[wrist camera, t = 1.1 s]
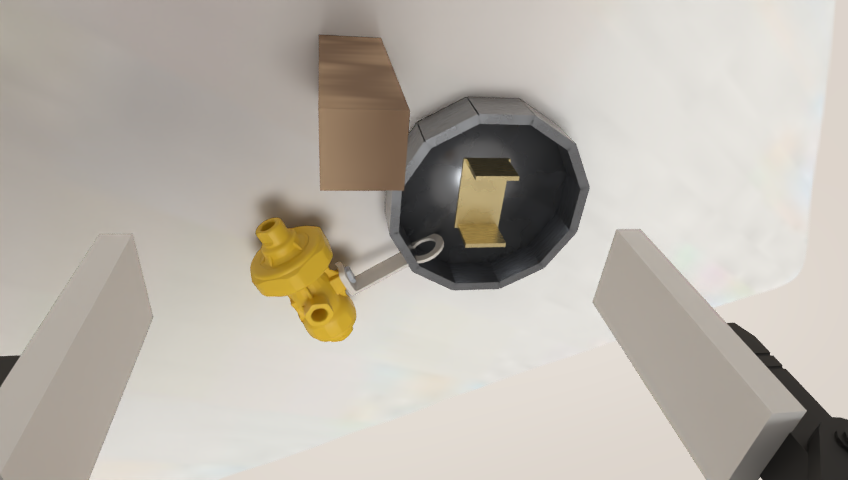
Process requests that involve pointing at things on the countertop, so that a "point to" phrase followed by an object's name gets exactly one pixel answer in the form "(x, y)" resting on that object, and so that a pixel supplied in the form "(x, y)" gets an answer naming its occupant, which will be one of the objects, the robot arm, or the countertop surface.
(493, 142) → the tin
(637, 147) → the countertop surface
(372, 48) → the wooden beam block
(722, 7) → the countertop surface
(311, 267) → the pressure relief valve
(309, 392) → the countertop surface
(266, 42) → the countertop surface
